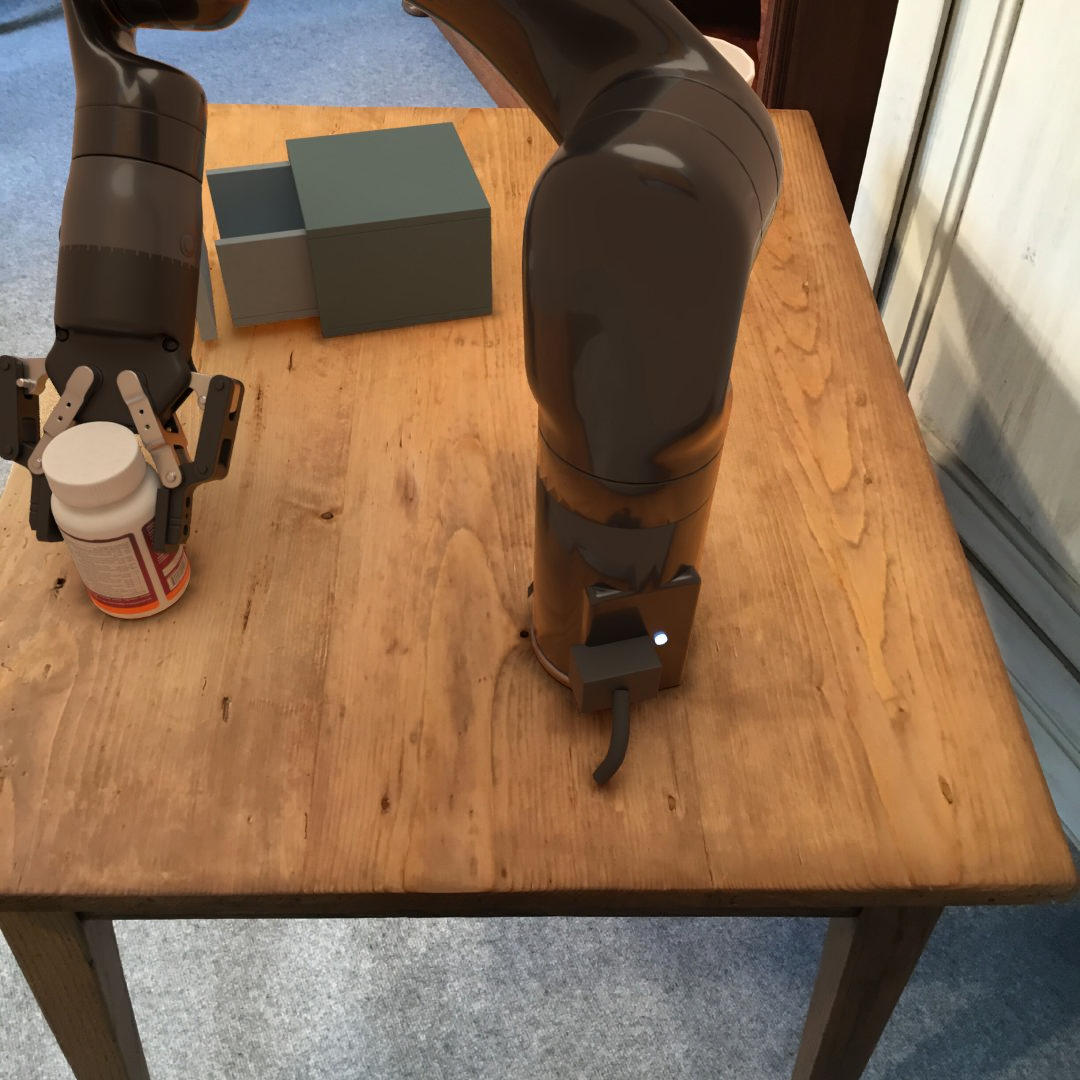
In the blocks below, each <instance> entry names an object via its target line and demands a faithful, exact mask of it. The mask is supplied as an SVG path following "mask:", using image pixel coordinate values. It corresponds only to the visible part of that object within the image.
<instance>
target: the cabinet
mask: <svg viewBox="0 0 1080 1080" xmlns="http://www.w3.org/2000/svg"><path fill="white" fill-rule="evenodd" d="M285 147H286V154H287V159H288V160H287V161H290V165H291V169H292V174H293V178H294V182H295V187H296V191H297V195H298V200H299V204H300V208H301V213H302V217H303V221H304V226H305V230H306V234H307V241H308V248H309V254H310V260H311V267H312V273H313V280H314V286H315V292H316V299H317V305H318V312H319V316H317V318H318V322H319V326H320V331H321V334H322V338H323V339H329V338H335V337H337V338H338V337H343V336H350V335H358V334H365V333H371V332H379V331H385V330H393V329H398V328H404V327H413V326H420V325H426V324H433V323H441V322H446V321H456V320H461V319H467V318H475V317H481V316H488V315H493V257H492V256H493V253H492V251H493V250H492V249H493V247H492V246H493V245H492V244H493V243H492V241H493V240H492V207H491V204H490V202H489V199H488V197H487V195H486V193H485V192H484V191H485V190H484V188H483V187H482V185H481V183H480V180H479V177H478V176H477V173H476V171H475V169H474V167H473V164H472V162H471V160H470V158H469V156H468V154H467V151H466V149H465V147H464V145H463V142H462V140H461V138H460V136H459V133H458V131H457V129H456V126H455V124H454V122H453V121H447V122H437V123H428V124H419V125H409V126H400V127H392V128H391V127H390V128H383V129H372V130H364V131H355V132H354V131H353V132H345V133H337V134H335V133H334V134H326V135H316V136H308V137H298V138H291V139H289V138H288V139H285Z"/></svg>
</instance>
